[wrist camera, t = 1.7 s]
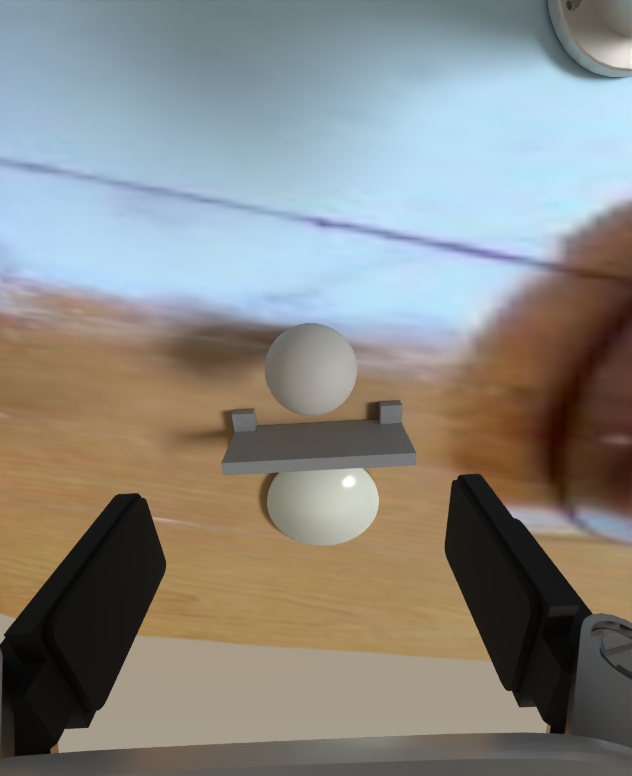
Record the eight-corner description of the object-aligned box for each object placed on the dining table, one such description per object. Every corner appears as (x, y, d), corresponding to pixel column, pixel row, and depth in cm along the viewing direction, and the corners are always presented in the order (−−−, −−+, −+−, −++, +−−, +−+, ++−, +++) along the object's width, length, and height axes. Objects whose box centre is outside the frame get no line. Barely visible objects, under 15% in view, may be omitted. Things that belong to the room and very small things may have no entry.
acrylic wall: (233, 409, 32) (217, 443, 27) (399, 400, 32) (417, 432, 26) (241, 453, 34) (227, 493, 29) (398, 444, 34) (414, 483, 28)
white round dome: (261, 456, 34) (260, 461, 34) (378, 450, 34) (379, 454, 33) (274, 542, 39) (273, 548, 38) (377, 537, 39) (378, 543, 38)
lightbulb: (282, 374, 31) (266, 437, 21) (272, 307, 28) (249, 341, 18) (348, 368, 31) (365, 428, 21) (344, 300, 28) (360, 330, 18)
